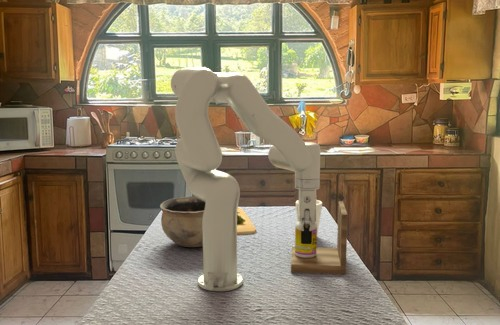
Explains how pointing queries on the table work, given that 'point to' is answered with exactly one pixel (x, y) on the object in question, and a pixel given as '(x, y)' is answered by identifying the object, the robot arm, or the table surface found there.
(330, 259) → the wooden bookend
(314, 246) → the supplement bottle
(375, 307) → the table surface
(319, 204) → the foam cup
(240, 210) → the cutting board
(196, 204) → the ceramic bowl
